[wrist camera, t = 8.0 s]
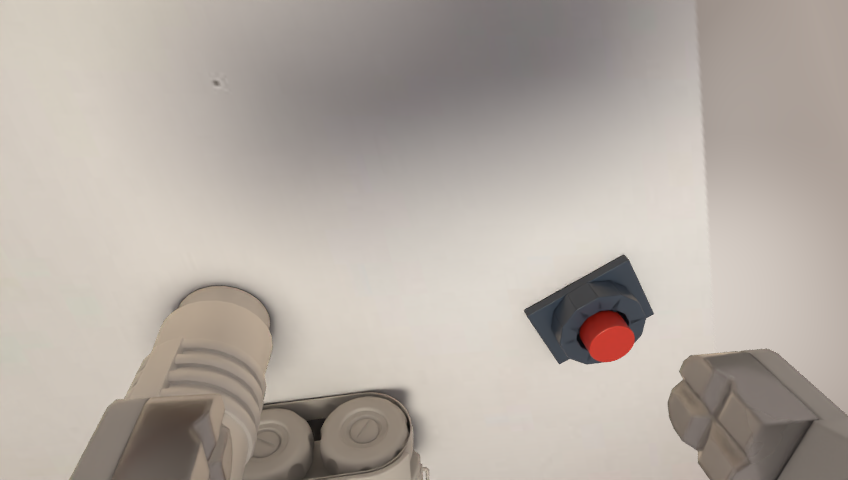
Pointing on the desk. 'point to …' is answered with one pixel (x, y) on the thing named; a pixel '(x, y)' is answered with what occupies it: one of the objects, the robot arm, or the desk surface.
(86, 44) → the desk surface
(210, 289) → the beige grooved canister
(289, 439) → the toy tank
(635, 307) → the button housing
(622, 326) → the button
